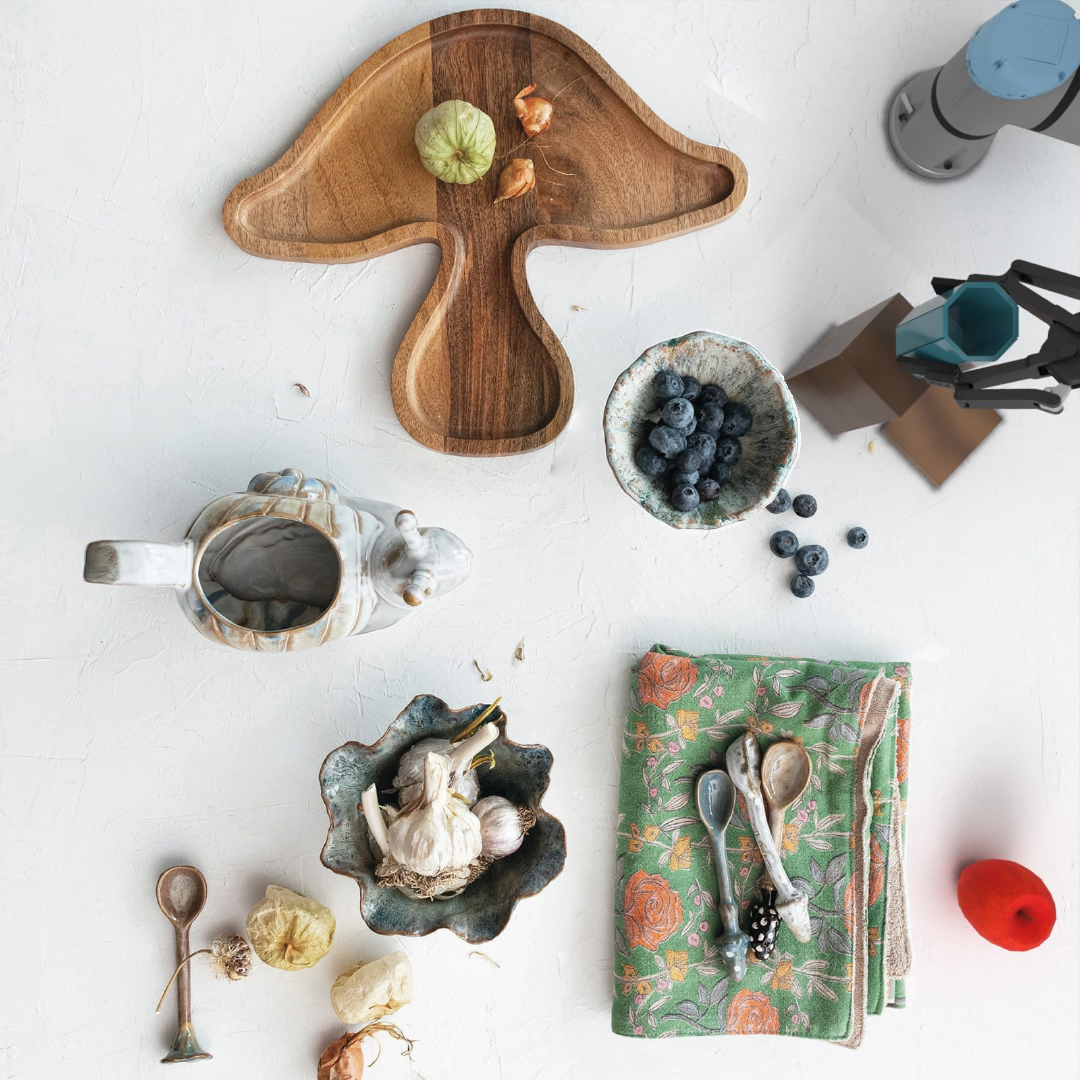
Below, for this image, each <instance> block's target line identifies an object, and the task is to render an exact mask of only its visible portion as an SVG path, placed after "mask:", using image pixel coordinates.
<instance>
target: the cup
mask: <svg viewBox="0 0 1080 1080" xmlns="http://www.w3.org/2000/svg"><path fill="white" fill-rule="evenodd" d="M1019 337H1020V306H1019V305H1018V304H1017V303H1016V302H1015V301H1014V300H1013V299H1012V298H1011V297H1010V296H1009V295H1008V294H1007V293H1006V292H1005V291H1004V289H1003V288H1002V287H1001V286H1000V285H999V284H998V283H996V282H965V283H963V284H961V285H959V286H957V287H955V288H953V289H951V290H949V291H947V292H945V293H943V294H941V295H936V296H935V297H933V298H930V299H929V300H926V301H925V302H923V303H921V304H918V305H917V306H915V307H914V309H913V310H912V311H911V312H910V313H909V314H908V315H907V316H906V317H905V318H904V319H903V320H902V321H901V323H900V324H899V325H898V326H897V328H896V356H898V355H901V356H907V357H913V358H919V359H925V360H931V361H937V362H943V363H949V364H956V365H959V367H960V369H961V371H962V372H966V371H970V370H974V369H977V368H981V367H982V366H987V365H990V364H992V363H995V362H997V361H999V360H1000V359H1001V358H1002V357H1003V356H1004V355H1005V353H1006V352H1008V350H1010V348H1011V347H1013V345H1014V344H1015V343H1016V342H1017V341H1018V340H1019ZM912 374H913V373H912ZM913 375H914V376H915V377H917V378H924V375H919V374H913Z"/></svg>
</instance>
